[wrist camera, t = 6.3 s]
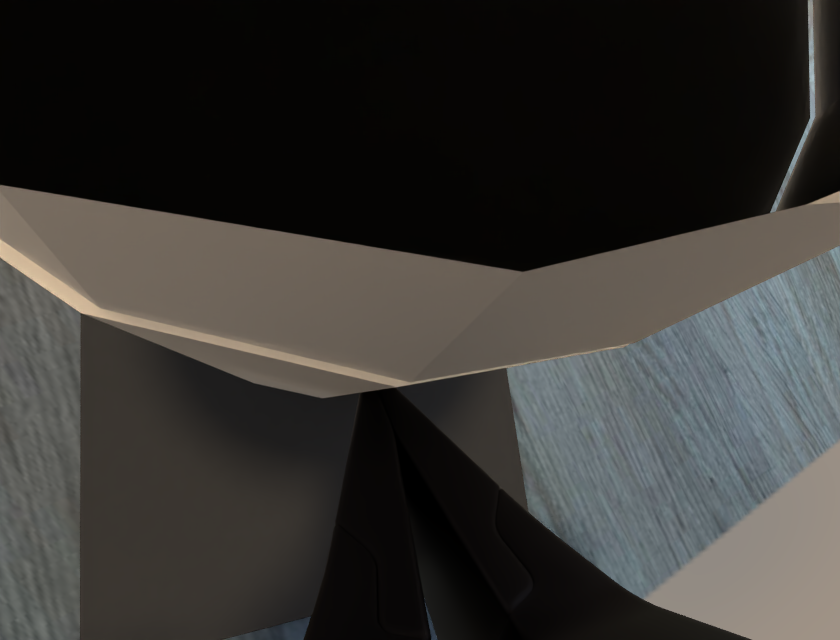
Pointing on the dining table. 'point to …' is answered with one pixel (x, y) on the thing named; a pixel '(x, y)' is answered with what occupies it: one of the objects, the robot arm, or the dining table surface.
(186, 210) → the container
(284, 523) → the plate
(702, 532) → the dining table surface
